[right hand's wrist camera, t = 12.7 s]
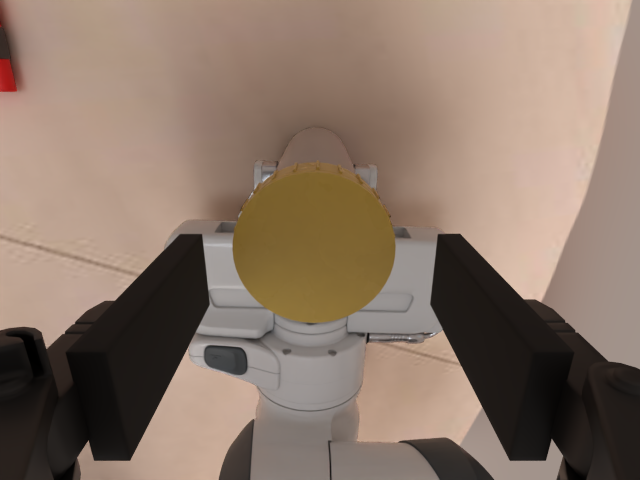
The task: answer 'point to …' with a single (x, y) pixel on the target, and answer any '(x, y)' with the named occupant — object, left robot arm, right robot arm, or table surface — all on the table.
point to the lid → (314, 243)
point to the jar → (316, 149)
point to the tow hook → (5, 66)
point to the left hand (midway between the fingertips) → (315, 163)
